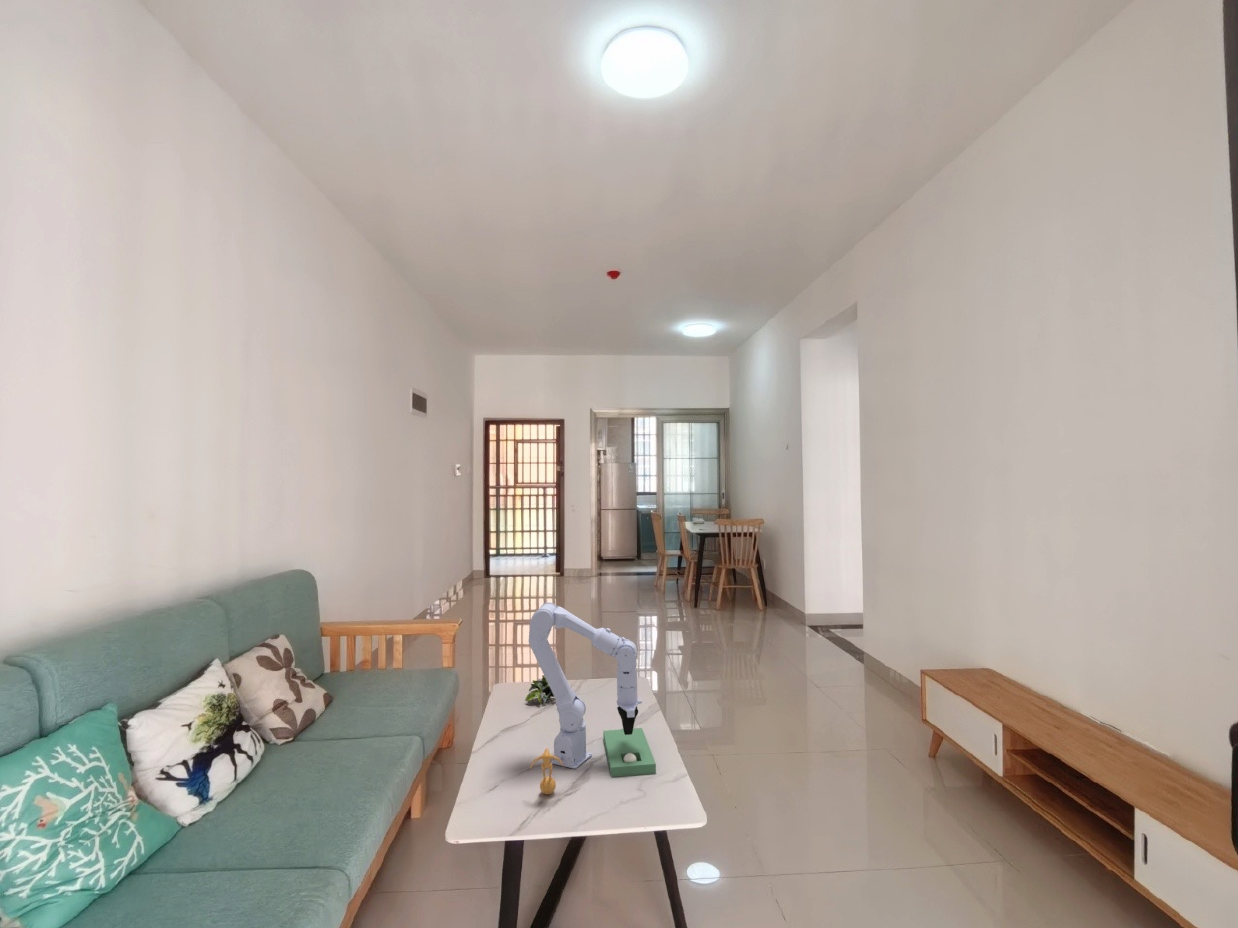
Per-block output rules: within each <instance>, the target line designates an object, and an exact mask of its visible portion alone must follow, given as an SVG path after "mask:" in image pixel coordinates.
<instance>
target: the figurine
mask: <svg viewBox="0 0 1238 928" xmlns="http://www.w3.org/2000/svg"><path fill="white" fill-rule="evenodd" d="M554 759H556V760H558V761H559V762H560V763H561V764H562V767H563V768H564V767H565V766H564V765H563V763H562V761H561V760H560V759H559V758H558V757H555V756H554V754H551V753H550V751H549V749H548V748H547V747H546V748H545V749H544V751H543V753H542V754H541V755H539V756H538V757H536V758H534V759H533V761H532V763H531V764H530V767H529V768H530V769H532V768H533V766H534V764H535V762H536V761H537V762H538V761H539V760H542V762H543V763H541V769H542V776H543V778H542V779H541V781H540V783H539V789H540V791H541V793H542V794H544V795H547V796H548V795H552V794H553V793H554V792H555V790H556V786H557V785H556V784H557V783H556V780H555V779H554V778H553V777H552V774H553V771H552V770H553V763H552V762H551V760H554ZM546 769H548V770H549V771H548V774H549V776H546Z"/></svg>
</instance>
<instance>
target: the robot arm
mask: <svg viewBox="0 0 1238 928" xmlns="http://www.w3.org/2000/svg"><path fill="white" fill-rule="evenodd" d="M553 626H554V630H557V629H563V628H567V629H569V630H571V631H572V632H575V633H577V634H579V635H581V636H583V637H585V638H587V639H589V640H590V641H591V644H592V646H593V647H595V648H596V649H598V650H600V651H602V652H603V653H605V654H607V655H609V656H610V657H613V658H615V660H616V662H617V668H616V685H617V686H616V691H617V692H616V695H617V700H616V705H617V707H616V709H617V711H618V712H617V713H618V715H619V717H620V719H621V724H622V729H623V730H624V734H625V735H632V732H633V729H634V727H635V721H636V719H637V716H638V714H639V709H638V705H639V704H640V705H641V704H642V702H643V700H642V699H641V698H638V668H637V657H638V656H637V654H638V649H637V644H635V642H633V641H632V639H628V638H625V637H624V636H619V635H617V634H616V633H613V632H612V630H611V628H608V627H606V628H604V627H599V628H595V627H594V626H592V625H591V624H589V623H587V622H586V621H584V620H583V619H581V618H579V617H577V616H576V615H575V614H573V613H571V612H569V611H568V610H567V609H566V608H564V607H563V606H562V607H561V606H559V605H558V606H557V605H556V604H555V603H553V602H544V603H543V604H542V605H541V606H540V607H539V608H538V609H537V610H535V612H534V613H533V614H532V616H531V619H530V620H529V632H528V633H529V635H528V644H529V647H530V649H531V651H532V654H533V655H534V657H535V659H536V661H537V664H538V665H539V668H540V670H541V671H542V673H543V675H544V676H545V678H546V680H547V682H548V684H549V686H550V688H551V690H552V693H553V695H554V697H553V698H554V699H555V704H556V711H557V713H558V716H559V718H558V722H559V725H560V727H559V732H558V734H557V735H556V737H554V741H553V756H555V757H558V758H559V759H560V760H561V761H562V763H563V765H564V767H566V768H570V769H573V770H576V769H577V768H578V767H579V766H581V765H582V764H584V763H585V762H586V761H587V760H588V759H589V758H591V757H592V756H593V753H592V752H588V751H587V731H586V730H587V728H586V726H587V723H586V722H585V720H584V718H583V717H584V715H585V713H586V709H587V707H586V704H585V701H584V700H582V699H581V698H580V697H579V696H578V694H577V693H576V691H575V690H574V689H572V687H571V686H570V683H569V681H568V680H567V679H568V678H567V677H566V675H565V673H564V671H563V670H562V667H561V665H560V663H559V661H558V659H557V657H556V655H555V652H554V651H553V648H552V647H551V646H552V645H551V644H550V642H549V640H548V639H549V636H550V634H551V631H552V628H553ZM551 763H552V765H556V766H557V765H558V766H562V764H561V763H560V762H559V761H558V760H556V759H552V761H551ZM562 767H563V766H562Z"/></svg>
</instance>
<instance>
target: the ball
mask: <svg viewBox="0 0 1238 928" xmlns="http://www.w3.org/2000/svg"><path fill="white" fill-rule="evenodd" d="M633 761H637V759H636V756H635V755H634V754H632V753H628V754H626V755H625V757H624V762H633Z"/></svg>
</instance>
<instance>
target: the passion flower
mask: <svg viewBox="0 0 1238 928" xmlns="http://www.w3.org/2000/svg"><path fill="white" fill-rule="evenodd" d="M541 677H542V678H537V679H536V680H535V679H533V680H532V683H530V686H531V687H530V688H529V689H528V694H527V696H526V698H525V699H524V700H525V702H527V703H530V701H532V700H533V699H535V698H537V700H538V702H539V703H540V704H541V703H542V701H543V704H542V707H544V706H545V703H546V702H547V700H548V699H551V697H552V698H555V697H554V695H553V693H552V690H551V688H550V686H549V684H548V682H547V680H546V678H545V676H544V674H543V675H542V676H541Z"/></svg>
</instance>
